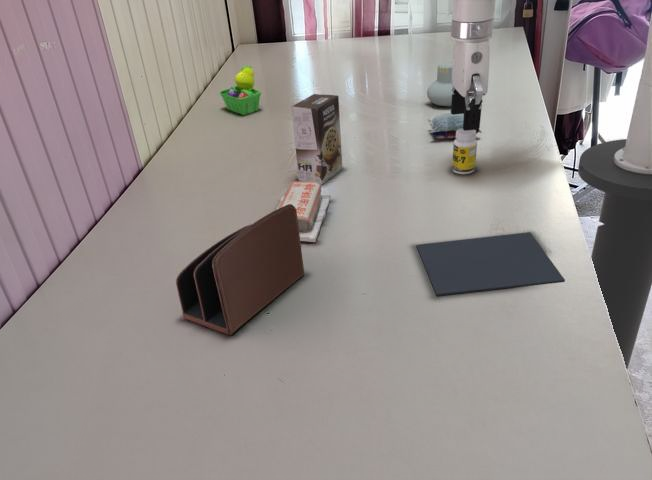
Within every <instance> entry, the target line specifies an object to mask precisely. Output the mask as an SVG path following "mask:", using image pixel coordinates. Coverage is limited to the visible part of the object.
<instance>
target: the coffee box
mask: <svg viewBox="0 0 652 480" xmlns="http://www.w3.org/2000/svg"><path fill="white" fill-rule="evenodd" d="M339 98H340V97H339V95H336V94H319V93H313V94H311V95H310V96H307V97H306V98H304V99H303V100H301V101H299V102H297V103H295V104H293V105H291V114H292V124H293V134H294V147H295V155H296V156H295V157H296V164H297V165H296V167H297V177H298V178H297V179H298V181H315V182H317V183H320V184H321V185H323V184H324V183H327V182H328V181H329V180H330V179H331V178H333V177H334V176H335V175H337V174H338V173H339V172H341V171H342V170H343V152H342V150H343V149H342V137H341V119H340V118H341V117H340V116H341V115H340V101H339V100H340V99H339Z"/></svg>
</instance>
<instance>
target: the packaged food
mask: <svg viewBox="0 0 652 480" xmlns="http://www.w3.org/2000/svg"><path fill="white" fill-rule="evenodd" d="M463 118H464V114H454V115H452V114H451V112H449V113H443V114H440V115H436V116H434V117H433V118H431V119H429V118H428V120H427V121H428V122H429V123H428V124H429V126H431V129H432V130H431V131H430V132H429V134H430V135H432V137H433V136H434V138H436V139H438V140H439V139H440V140H441V139H443V140H444V139H456V131H457V130H458V129H461V128H463ZM478 133H480V134H482V130H480V128H479V129H477V130H476V135H477V134H478Z"/></svg>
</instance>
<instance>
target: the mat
mask: <svg viewBox="0 0 652 480" xmlns="http://www.w3.org/2000/svg"><path fill="white" fill-rule="evenodd" d="M416 249H417V252H418V254H419V257H420V259H421V261H422V264H423V266H424V268H425V269H424V270H425V271H426V274H427V276H428V278H429V281H430V283H431V286H432V288H433V291H434V293H435V295H436V297H441V296H450V295H451V296H453V295H461V294H468V293H469V294H470V293H478V292H486V291H487V292H488V291H496V290H507V289H514V288H522V287H523V288H524V287H532V286H542V285H550V284H551V285H552V284H560V283H565V282H566V279H565V278H564V276H563V275H562V273H561V272H560V271H559V270H558V268H557V267H556V265H555V264H554V263H553V261H552V260H551V259H550V257H549V255H548V254H547V253H546V252H545V250H544V249H543V248H542V246H541V245H540V243H539V242H538V240H537V239H536V238H535V237H534V235H533V234H532V233H531V231H529V232H518V233H510V234H502V235H493V236H483V237H475V238H466V239H465V238H464V239H457V240H448V241H447V240H446V241H438V242H429V243H422V244H421V243H420V244H416Z"/></svg>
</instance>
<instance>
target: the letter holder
mask: <svg viewBox="0 0 652 480" xmlns="http://www.w3.org/2000/svg"><path fill="white" fill-rule="evenodd" d="M276 209H277V208H276ZM276 209H275V210H273V211H271V212H270V213H268V214H266V215H264V216H262V217H261V218H260V219H257V220H256V221H255V222H254V223H252V224H248V225H245V226H243V227H241V228H239V229H238V230H236V231H234V232H232V233H230V234H228V235H226V236H225V237H224V238H222V239H220V240H219V241H218V242H216V243H214V244H213V245H212V246H210V247H209V248H207V249H206V250H205V251H203V252H202V253H200V254H199V255H198V256H196V258H194V259H193V260H192V261H190V263H188V264H187V265H186V266H185V267H184V268H183V269H182V270H181V271H180V272H179V273H178V275H177V276H176V279H175V285H176V290H177V294H178V299H179V303H180V307H181V312H182V317H183V319H184V320H188V321H190V322H193V323H196V324H198V325H201V326H204V327H205V328H206V327H207V328H209V329H211V330H215V331H217V332H220V333H222V334H225V335H227V336H232V335H233V334H234V333H235V332H237V330H239V329H240V328H241V327H242V326H243V325H245V324H246V323H247V322H248V321H249V320H250V319H252V318H253V317H254V316H255V315H256V314H258V313H259V312H260V311H262V310H263V309H264V308H265V307H267V306H268V305H269V304H270V303H272V302H273V301H274V300H275V299H277V298H278V297H279V296H280V295H281V294H282V293H284V292H285V291H286V290H288V288H290V287H291V286H292V285H294V283H296V282H297V281H298V280H299V279H301V278H302V277H303V276H304V275H305V267H304V261H303V260H304V259H303V252H302V245H301V244H302V243H301V241H300V234H299V226H298V219H297V211H296V208H295V207H294V206H293V205H292V204H289V205H286V206H283V207H281V208H279V209H277V210H276Z"/></svg>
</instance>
